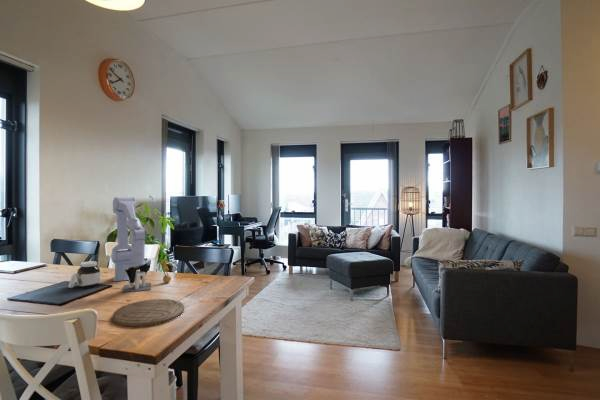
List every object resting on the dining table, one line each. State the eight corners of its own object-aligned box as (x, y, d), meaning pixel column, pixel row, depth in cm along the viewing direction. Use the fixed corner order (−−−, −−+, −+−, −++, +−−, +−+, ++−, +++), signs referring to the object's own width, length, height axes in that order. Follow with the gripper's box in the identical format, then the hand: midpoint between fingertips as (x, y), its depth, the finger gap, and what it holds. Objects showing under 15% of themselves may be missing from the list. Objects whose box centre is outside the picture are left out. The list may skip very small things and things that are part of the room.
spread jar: (102, 285, 157) (103, 262, 156) (78, 291, 146) (79, 266, 146) (87, 282, 162) (88, 259, 161) (63, 287, 151) (63, 263, 151)
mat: (124, 285, 157) (124, 284, 157) (151, 283, 162) (151, 282, 162) (122, 292, 146) (122, 291, 146) (150, 290, 151) (150, 289, 151)
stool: (128, 287, 153) (128, 273, 152) (137, 285, 157) (137, 271, 157) (136, 288, 151) (136, 274, 151) (145, 286, 156) (145, 272, 156)
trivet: (131, 303, 134) (131, 298, 134) (191, 303, 135) (191, 299, 135) (98, 328, 109) (98, 322, 109) (171, 327, 111) (171, 322, 111)
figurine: (162, 284, 160) (162, 261, 160) (154, 283, 163) (155, 260, 163) (176, 281, 167) (176, 259, 167) (169, 279, 170) (169, 257, 170)
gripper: (131, 257, 146) (131, 286, 146) (155, 251, 159) (155, 278, 159) (120, 255, 148) (119, 284, 148) (145, 250, 162) (144, 276, 162)
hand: (137, 281), depth 154 cm, fingers open, 6 cm apart
